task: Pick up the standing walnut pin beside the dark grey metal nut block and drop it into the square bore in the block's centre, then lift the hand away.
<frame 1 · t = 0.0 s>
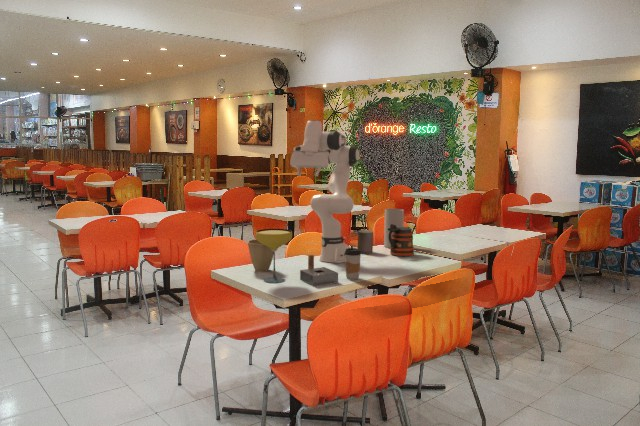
hand: (307, 175, 273), 52 cm above the table, tool tilted 20°, fingers open, 8 cm apart
nut block: (318, 281, 266), on the table
cylinder vase: (393, 247, 355), on the table
plant pot: (262, 270, 289), on the table
walnut pin: (311, 273, 282), on the table
pillar candle: (365, 252, 337), on the table
beer stein: (399, 255, 330), on the table
cocktail glass: (274, 280, 268), on the table
coffee cup: (352, 278, 272), on the table
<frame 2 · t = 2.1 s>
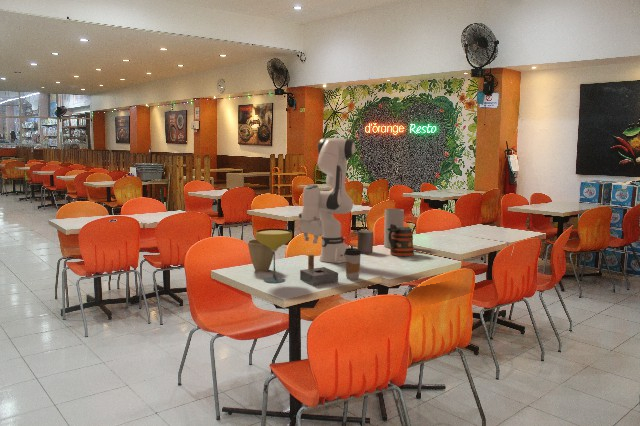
hand: (310, 242, 280), 17 cm above the table, tool pointing down, fingers open, 8 cm apart
nothing on the table moved.
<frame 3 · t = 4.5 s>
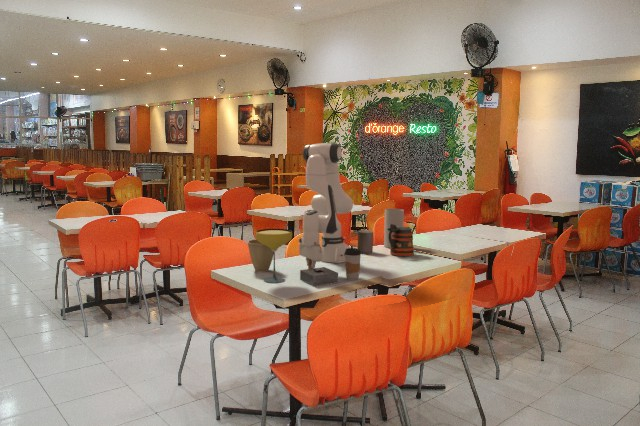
hand: (311, 266, 282), 4 cm above the table, tool pointing down, fingers closed on walnut pin, 3 cm apart
walnut pin: (311, 273, 282), on the table, touching gripper
everything else where it was.
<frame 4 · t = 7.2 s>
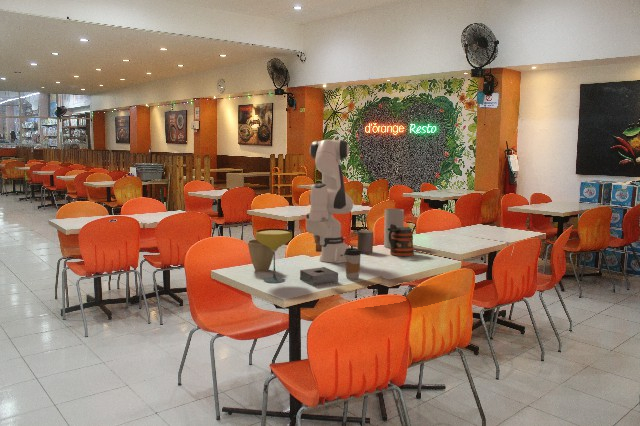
hand: (318, 244, 264), 19 cm above the table, tool pointing down, fingers closed on walnut pin, 3 cm apart
walnut pin: (318, 251, 264), point 15 cm above the table, touching gripper
everything else where it was.
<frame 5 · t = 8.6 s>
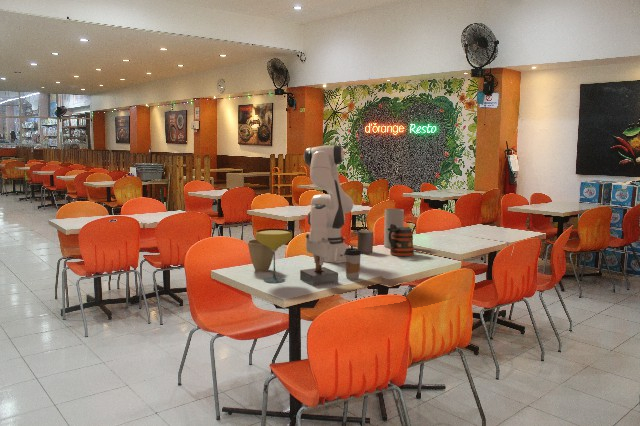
hand: (318, 264, 265), 9 cm above the table, tool pointing down, fingers closed on walnut pin, 3 cm apart
walnut pin: (318, 271, 266), point 5 cm above the table, touching gripper
everything else where it was.
when the fingers open (7 cm above the table, at t = 9.9 s): walnut pin drops 3 cm, resting in nut block.
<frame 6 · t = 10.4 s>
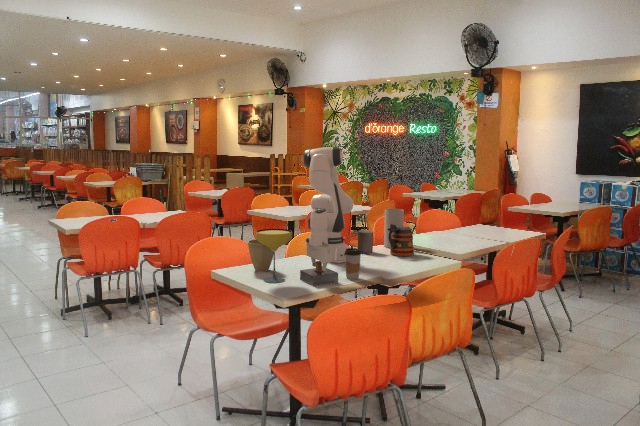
hand: (319, 268, 266), 7 cm above the table, tool pointing down, fingers open, 8 cm apart
walnut pin: (318, 281, 266), resting in nut block
everything else where it was.
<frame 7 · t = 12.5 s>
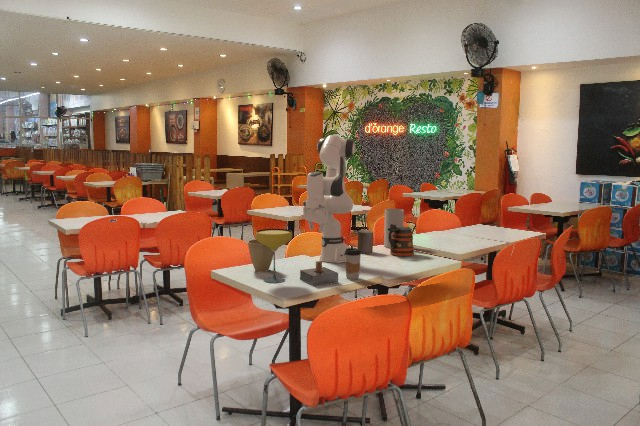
hand: (316, 230, 272), 24 cm above the table, tool pointing down, fingers open, 8 cm apart
nothing on the table moved.
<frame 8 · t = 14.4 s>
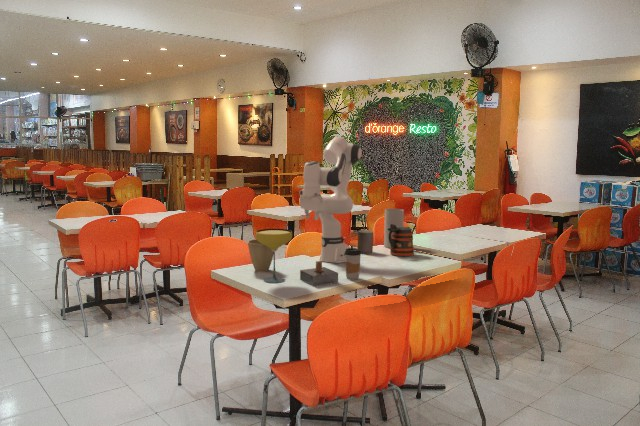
hand: (311, 218, 280), 29 cm above the table, tool pointing down, fingers open, 8 cm apart
nothing on the table moved.
at the end: walnut pin 0.1 cm off-centre on the nut block, point 0.0 cm above the nut block's base; walnut pin tilted 0°; the gripper is holding nothing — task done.
